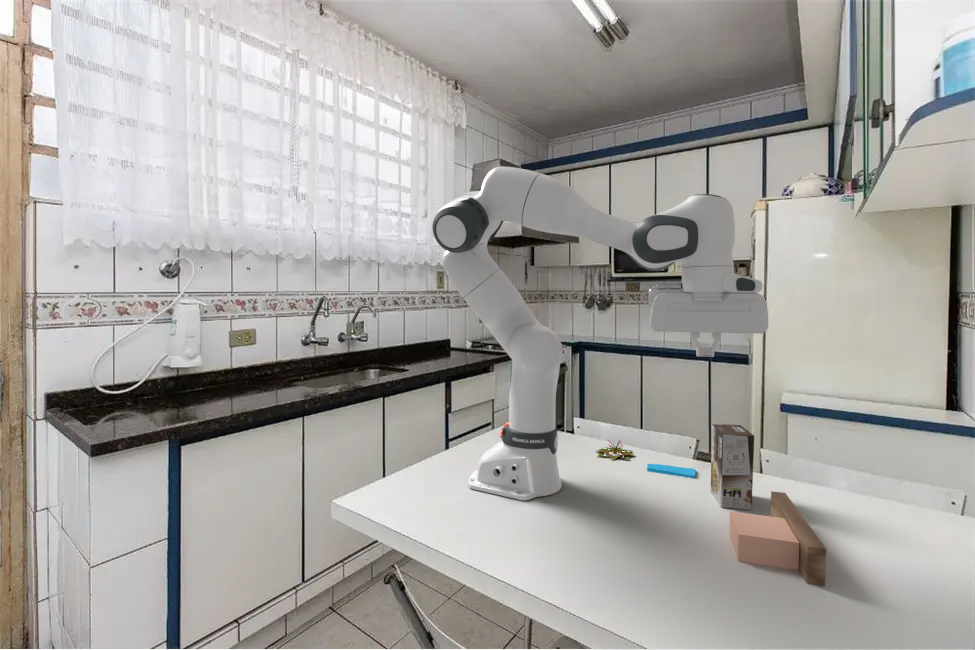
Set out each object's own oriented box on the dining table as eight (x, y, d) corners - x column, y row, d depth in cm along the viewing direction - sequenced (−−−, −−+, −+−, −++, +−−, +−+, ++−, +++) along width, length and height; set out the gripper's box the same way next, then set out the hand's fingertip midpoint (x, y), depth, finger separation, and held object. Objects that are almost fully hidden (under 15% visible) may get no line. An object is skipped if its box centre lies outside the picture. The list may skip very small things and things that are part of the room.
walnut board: (806, 583, 75) (807, 546, 75) (770, 520, 96) (771, 491, 96) (824, 585, 74) (826, 549, 74) (784, 521, 95) (785, 492, 95)
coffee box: (753, 510, 100) (755, 435, 99) (720, 507, 102) (722, 434, 101) (739, 492, 109) (741, 424, 108) (709, 490, 111) (711, 422, 110)
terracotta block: (737, 562, 81) (738, 534, 81) (729, 536, 90) (729, 511, 90) (798, 571, 79) (799, 542, 78) (783, 544, 87) (784, 518, 87)
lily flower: (638, 452, 139) (639, 436, 139) (635, 465, 128) (635, 448, 128) (597, 447, 144) (597, 432, 143) (590, 459, 133) (590, 443, 132)
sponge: (648, 461, 128) (645, 465, 123) (696, 468, 123) (695, 473, 118) (648, 467, 128) (645, 471, 123) (696, 474, 123) (695, 479, 118)
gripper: (648, 283, 89) (647, 356, 90) (772, 282, 83) (769, 360, 83) (648, 284, 95) (646, 352, 96) (763, 282, 89) (761, 356, 89)
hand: (705, 356), depth 90 cm, fingers closed
